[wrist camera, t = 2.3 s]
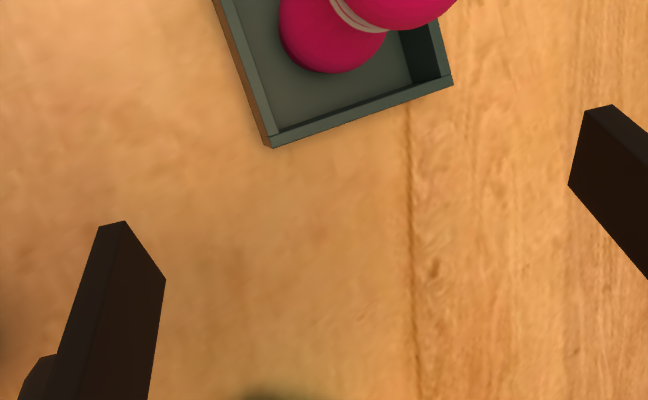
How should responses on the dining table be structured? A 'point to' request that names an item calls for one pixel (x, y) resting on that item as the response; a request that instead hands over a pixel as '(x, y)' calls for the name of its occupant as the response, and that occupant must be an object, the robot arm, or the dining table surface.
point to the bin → (325, 74)
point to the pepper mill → (347, 29)
